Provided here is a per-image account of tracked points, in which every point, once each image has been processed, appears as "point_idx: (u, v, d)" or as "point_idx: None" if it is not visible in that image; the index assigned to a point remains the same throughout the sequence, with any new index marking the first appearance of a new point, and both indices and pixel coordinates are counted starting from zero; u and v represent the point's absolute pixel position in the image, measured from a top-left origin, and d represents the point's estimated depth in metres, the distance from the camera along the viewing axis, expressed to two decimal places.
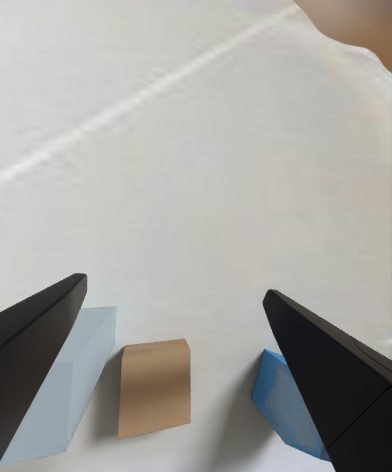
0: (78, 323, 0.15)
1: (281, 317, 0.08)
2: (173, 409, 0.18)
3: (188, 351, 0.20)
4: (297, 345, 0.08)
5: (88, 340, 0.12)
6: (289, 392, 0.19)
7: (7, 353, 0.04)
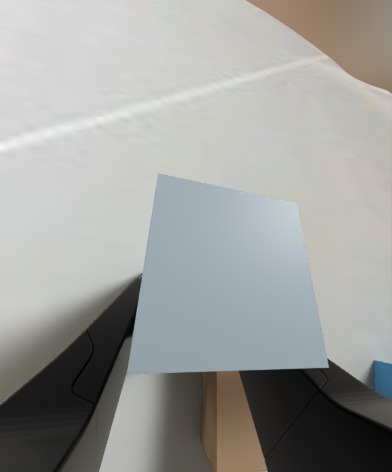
0: None
1: None
2: None
3: None
4: None
5: None
6: None
7: (121, 352, 0.05)
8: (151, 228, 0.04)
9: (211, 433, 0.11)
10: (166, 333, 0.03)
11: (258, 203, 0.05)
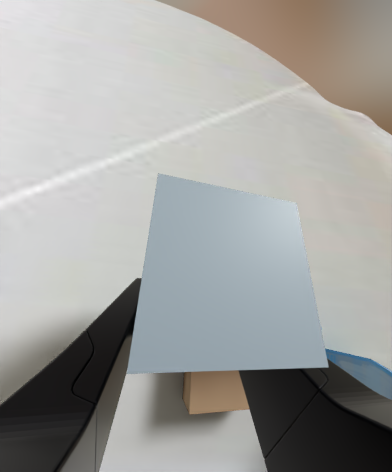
0: None
1: None
2: (243, 388, 0.17)
3: None
4: None
5: None
6: (362, 380, 0.18)
7: (121, 352, 0.05)
8: (151, 228, 0.04)
9: (188, 389, 0.17)
10: (166, 333, 0.03)
11: (258, 203, 0.05)
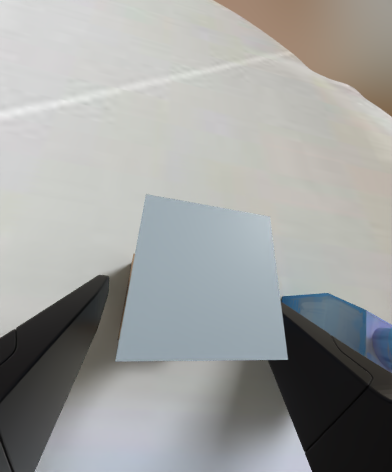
0: None
1: None
2: None
3: None
4: None
5: None
6: (317, 315, 0.17)
7: (51, 353, 0.04)
8: (138, 242, 0.05)
9: None
10: (148, 330, 0.04)
11: (234, 217, 0.06)
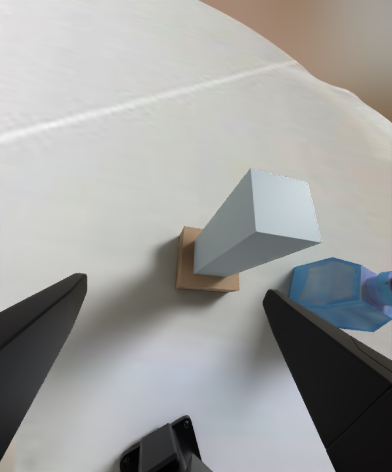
0: None
1: (281, 317, 0.08)
2: None
3: None
4: (298, 345, 0.08)
5: None
6: (324, 273, 0.22)
7: (7, 353, 0.04)
8: (253, 188, 0.10)
9: (179, 273, 0.21)
10: (264, 222, 0.09)
11: (291, 181, 0.11)
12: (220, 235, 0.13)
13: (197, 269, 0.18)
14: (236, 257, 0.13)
